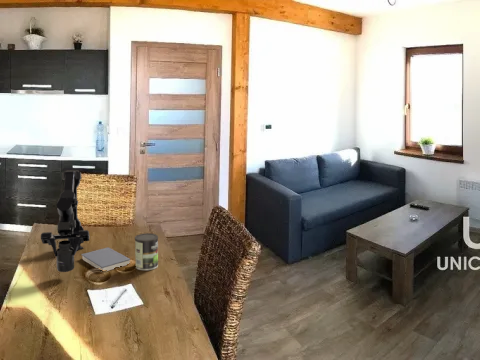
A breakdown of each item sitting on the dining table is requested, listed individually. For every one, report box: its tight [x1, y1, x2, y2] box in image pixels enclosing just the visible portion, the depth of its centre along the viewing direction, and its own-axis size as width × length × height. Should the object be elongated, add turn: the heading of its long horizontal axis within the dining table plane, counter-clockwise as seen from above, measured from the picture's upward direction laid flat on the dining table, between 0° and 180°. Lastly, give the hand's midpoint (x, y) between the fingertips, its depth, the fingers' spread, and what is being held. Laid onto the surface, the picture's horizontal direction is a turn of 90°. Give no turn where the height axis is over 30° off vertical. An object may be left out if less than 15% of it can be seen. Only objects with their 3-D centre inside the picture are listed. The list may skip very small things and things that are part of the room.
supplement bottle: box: [56, 239, 75, 273], centre depth 175 cm, size 7×7×12 cm
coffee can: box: [134, 233, 159, 271], centre depth 191 cm, size 10×10×14 cm
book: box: [80, 246, 131, 272], centre depth 195 cm, size 20×14×3 cm
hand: (64, 255), depth 174 cm, fingers closed on supplement bottle, 7 cm apart
